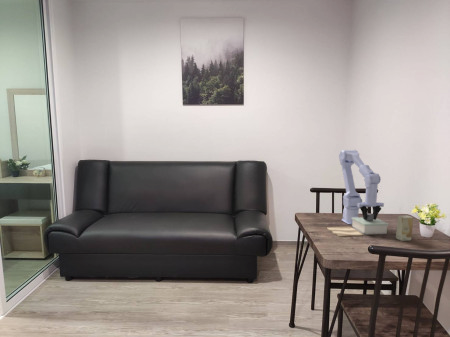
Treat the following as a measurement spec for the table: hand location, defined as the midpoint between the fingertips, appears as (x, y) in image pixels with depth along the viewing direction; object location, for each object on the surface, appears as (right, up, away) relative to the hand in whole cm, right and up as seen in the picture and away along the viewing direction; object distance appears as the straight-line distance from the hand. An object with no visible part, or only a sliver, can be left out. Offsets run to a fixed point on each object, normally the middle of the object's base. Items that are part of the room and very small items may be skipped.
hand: (369, 219), depth 194 cm
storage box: (0, -6, +1) cm, 6 cm away
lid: (0, -2, 0) cm, 2 cm away
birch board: (-15, -7, -2) cm, 16 cm away
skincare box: (+12, -9, -14) cm, 20 cm away
